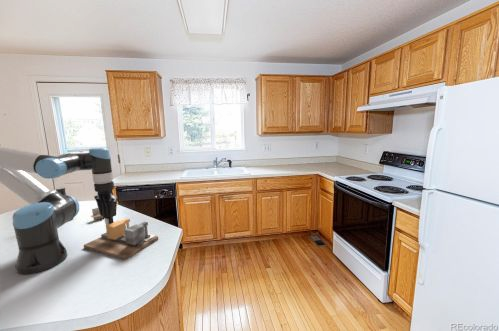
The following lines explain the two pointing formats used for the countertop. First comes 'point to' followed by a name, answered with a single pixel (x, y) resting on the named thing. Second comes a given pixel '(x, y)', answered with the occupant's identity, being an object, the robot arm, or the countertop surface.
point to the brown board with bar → (124, 242)
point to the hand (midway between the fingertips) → (110, 230)
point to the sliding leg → (117, 229)
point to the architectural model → (96, 214)
